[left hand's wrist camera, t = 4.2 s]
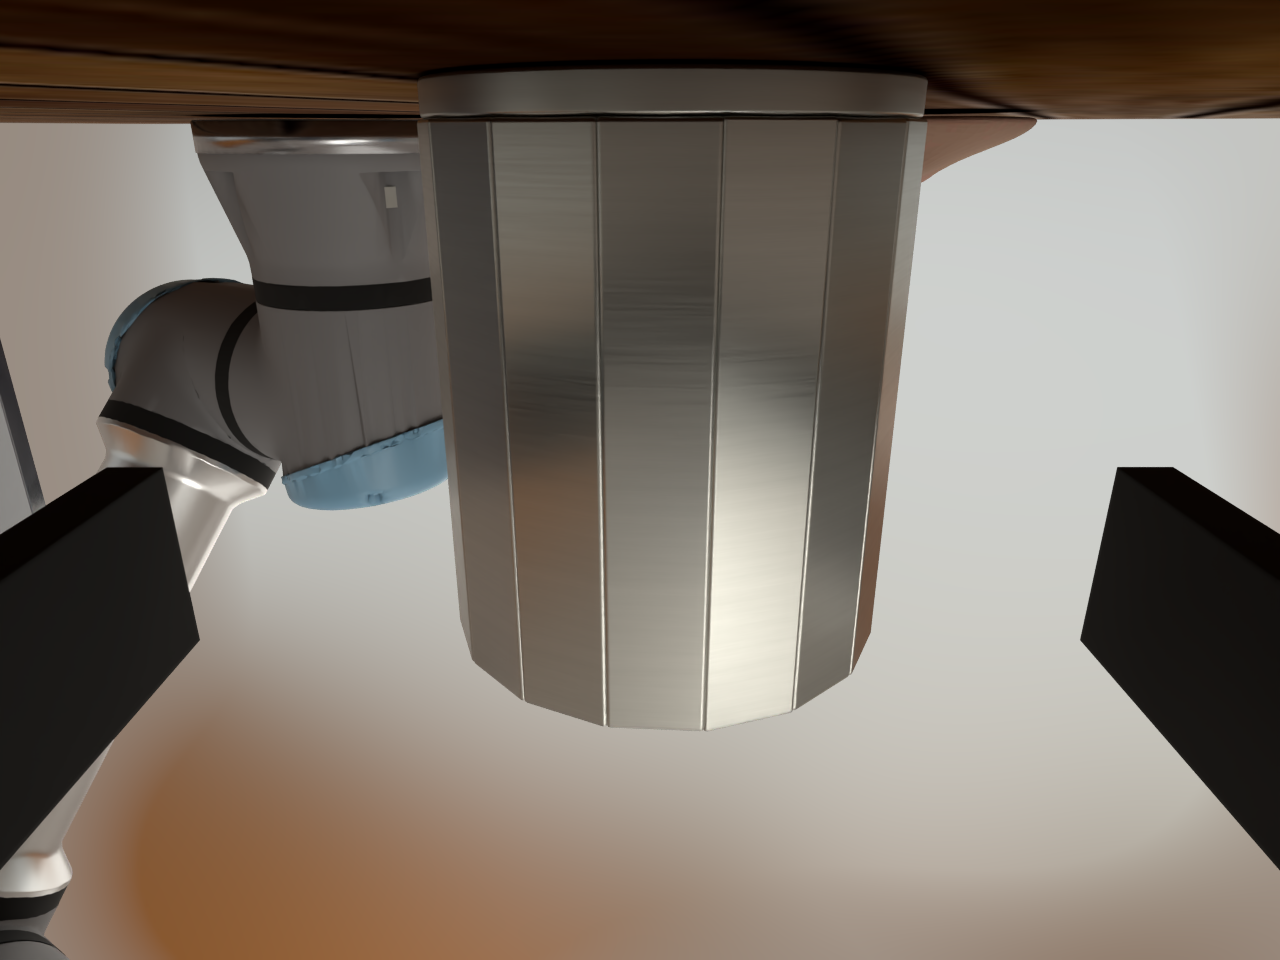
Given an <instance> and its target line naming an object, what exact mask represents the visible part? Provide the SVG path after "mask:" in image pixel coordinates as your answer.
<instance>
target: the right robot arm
mask: <svg viewBox="0 0 1280 960" xmlns="http://www.w3.org/2000/svg"><path fill="white" fill-rule="evenodd" d="M417 122H418V120H366V119H228V120H192V121H190V123H191V128H192V134H193V140H194V146H195V151H196V153H197V154H198V158H199V161H200V163H201V165H202V167H203V169H204V171H205V173H206V175H207V177H208V179H209V181H210V183H211V185H212V187H213V189H214V191H215V193H216V195H217V197H218V199H219V201H220V203H221V205H222V207H223V209H224V211H225V213H226V215H227V217H228V219H229V221H230V223H231V225H232V227H233V229H234V231H235V233H236V235H237V237H238V239H239V241H240V243H241V245H242V247H243V249H244V251H245V253H246V255H247V257H248V260H249V263H250V268H251V273H252V280H253V285H249V284H244V283H241V282H238V281H235V280H230V279H222V278H204V279H201V280H180V281H174V282H169V283H166V284H163V285H160V286H158V287H155V288H153V289H151V290H149V291H147V292H146V293H144V294H142V295H141V296H139V297H138V298H137V299H136V300H134V301H133V302H132V303H131V304H130V305H129V306H128V307H127V308H126V309H125V310H124V311H123V312H122V314H121V315H120V316H119V318H118V319H117V321H116V322H115V324H114V326H113V328H112V330H111V332H110V335H109V338H108V342H107V345H106V350H105V367H106V368H107V369H108V372H109V380H108V383H109V386H110V388H111V391H112V394H111V396H110V398H109V399H108V401H107V403H106V405H105V407H104V408H103V410H102V412H101V414H100V415H99V417H98V420H97V422H96V424H97V426H98V429H99V432H100V434H101V437H102V439H103V442H104V445H105V447H106V457H105V459H104V461H103V463H102V465H101V466H100V468H99V470H98V472H100V471H102V470H103V469H105V468H106V467H163V471H164V476H165V480H166V485H167V490H168V494H169V499H170V504H171V508H172V513H173V518H174V522H175V527H176V532H177V536H178V541H179V546H180V550H181V555H182V560H183V564H184V569H185V574H186V578H187V583H188V587H189V592H190V591H191V589H192V587H193V585H194V583H195V581H196V579H197V577H198V575H199V573H200V571H201V569H202V567H203V565H204V564H205V562H206V559H207V558H208V556H209V554H210V552H211V550H212V548H213V546H214V544H215V542H216V540H217V538H218V536H219V534H220V532H221V530H222V529H223V526H224V525H225V523H226V521H227V519H228V517H229V515H230V513H231V511H232V509H233V508H234V507H236V506H237V505H239V504H240V503H243V502H246V501H249V500H251V499H254V498H257V497H260V496H262V495H265V494H266V492H267V490H268V488H269V486H270V484H271V482H272V480H273V478H274V476H275V474H276V472H277V470H278V468H279V466H280V464H281V463H282V469H283V476H282V477H281V478H282V483H283V484H284V485H285V487H286V490H287V493H288V496H289V498H290V499H291V500H292V501H293V502H294V503H296V504H298V505H299V506H302V507H306V508H310V509H318V510H346V509H356V508H363V507H370V506H376V505H380V504H385V503H390V502H394V501H398V500H401V499H405V498H408V497H411V496H414V495H417V494H419V493H422V492H424V491H427V490H429V489H431V488H433V487H435V486H437V485H439V484H441V483H442V482H444V481H445V480H447V479H448V472H447V461H446V449H445V438H444V426H443V415H442V403H441V392H440V381H439V369H438V358H437V346H436V335H435V323H434V312H433V300H432V289H431V277H430V266H429V255H428V243H427V232H426V220H425V209H424V197H423V186H422V174H421V163H420V151H419V140H418V129H417ZM98 472H97V473H98ZM97 473H96V474H97ZM114 739H115V738H114ZM113 741H114V740H113ZM113 741H112V742H111V743H110V744H109V745H108V747H107V748H106V749H105V750H104V751H103V752H102V753H101V755H100V756H99V757H98V758H97V759H96V760H95V762H94V763H93V764H92V765H91V766H90V767H89V768H88V770H87V771H86V772H85V773H84V774H83V775H82V777H81V778H80V779H79V780H78V781H77V782H76V783H75V785H74V786H73V787H72V788H71V789H70V790H69V792H68V793H67V794H66V795H65V796H64V797H63V798H62V800H61V801H60V802H59V803H58V804H57V805H56V807H55V808H54V809H53V810H52V811H51V812H50V813H49V815H48V816H47V817H46V818H45V819H44V820H43V822H42V823H41V824H40V825H39V826H38V827H37V828H36V830H35V831H34V832H33V833H32V834H31V835H30V837H29V838H28V839H27V840H26V841H25V842H24V843H23V845H22V846H21V847H20V848H19V849H18V850H17V851H16V853H15V854H14V855H13V856H12V857H11V858H10V860H9V861H8V862H7V863H6V864H5V865H4V866H3V868H2V869H1V870H0V960H69V959H68V958H67V957H66V956H65V955H64V954H63V953H62V952H61V951H60V950H59V949H58V948H57V947H55V946H54V945H53V944H52V943H51V942H50V941H49V940H48V939H47V938H46V937H45V936H44V932H45V930H46V928H47V926H48V924H49V922H50V920H51V918H52V916H53V914H54V912H55V910H56V908H57V906H58V904H59V901H60V899H61V897H62V895H63V893H64V891H65V889H66V887H67V885H68V884H69V882H70V880H71V878H72V874H73V872H72V868H71V865H70V863H69V861H68V859H67V857H66V855H65V852H64V850H63V848H62V840H63V838H64V836H65V834H66V832H67V830H68V828H69V827H70V825H71V823H72V821H73V819H74V817H75V815H76V813H77V811H78V809H79V807H80V805H81V803H82V801H83V799H84V797H85V795H86V793H87V791H88V790H89V788H90V786H91V784H92V782H93V780H94V778H95V776H96V774H97V772H98V770H99V768H100V766H101V764H102V762H103V760H104V758H105V756H106V755H107V752H108V750H109V749H110V747H111V745H112V743H113Z"/></svg>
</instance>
